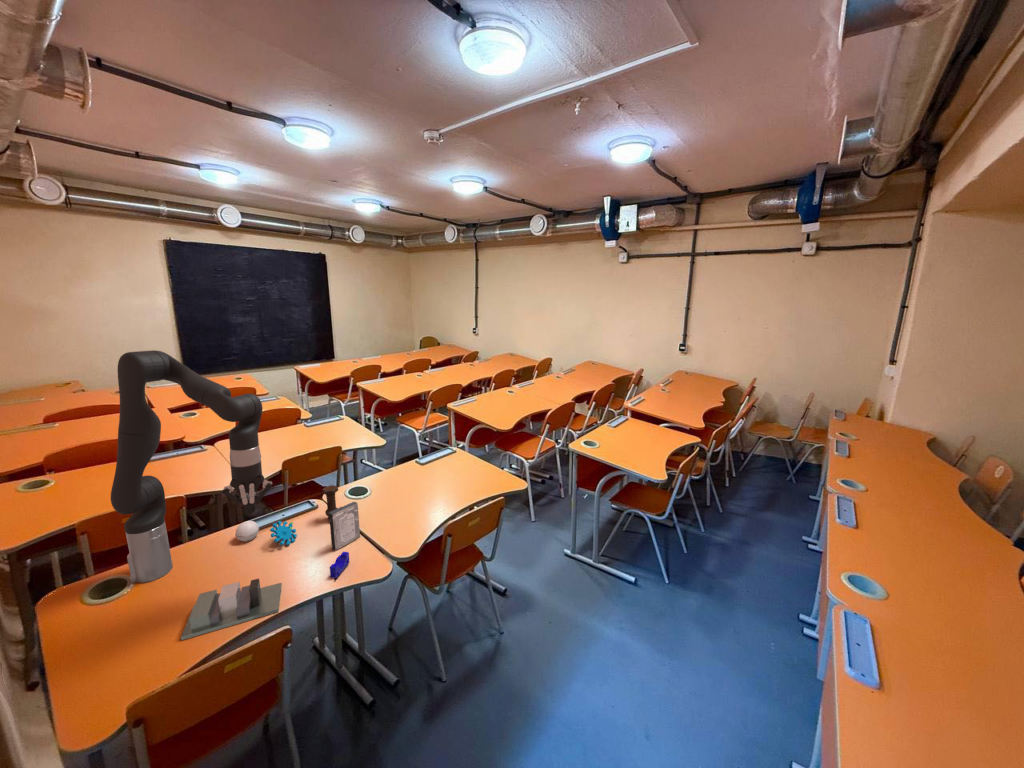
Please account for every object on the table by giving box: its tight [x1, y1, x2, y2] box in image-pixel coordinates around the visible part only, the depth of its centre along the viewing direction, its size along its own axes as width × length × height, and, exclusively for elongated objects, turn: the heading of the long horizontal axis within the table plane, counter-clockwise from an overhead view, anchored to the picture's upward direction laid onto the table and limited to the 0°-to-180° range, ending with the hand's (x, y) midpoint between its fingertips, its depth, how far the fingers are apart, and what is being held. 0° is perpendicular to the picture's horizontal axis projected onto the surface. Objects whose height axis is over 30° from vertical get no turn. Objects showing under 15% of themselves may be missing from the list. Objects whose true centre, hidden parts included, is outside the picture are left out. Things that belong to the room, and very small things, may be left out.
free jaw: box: [236, 578, 261, 618], centre depth 111 cm, size 5×10×6 cm, turn 27°
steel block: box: [218, 581, 242, 618], centre depth 109 cm, size 4×6×6 cm, turn 27°
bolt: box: [322, 484, 339, 522], centre depth 155 cm, size 6×5×15 cm
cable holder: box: [329, 551, 350, 579], centre depth 128 cm, size 8×4×4 cm, turn 173°
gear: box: [269, 520, 298, 546], centre depth 142 cm, size 11×6×10 cm
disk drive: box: [328, 501, 361, 551], centre depth 141 cm, size 10×3×15 cm, turn 145°
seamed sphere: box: [234, 520, 260, 543], centre depth 142 cm, size 10×7×7 cm
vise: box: [180, 582, 283, 641], centre depth 109 cm, size 22×12×5 cm, turn 117°
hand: (250, 513), depth 116 cm, fingers closed
